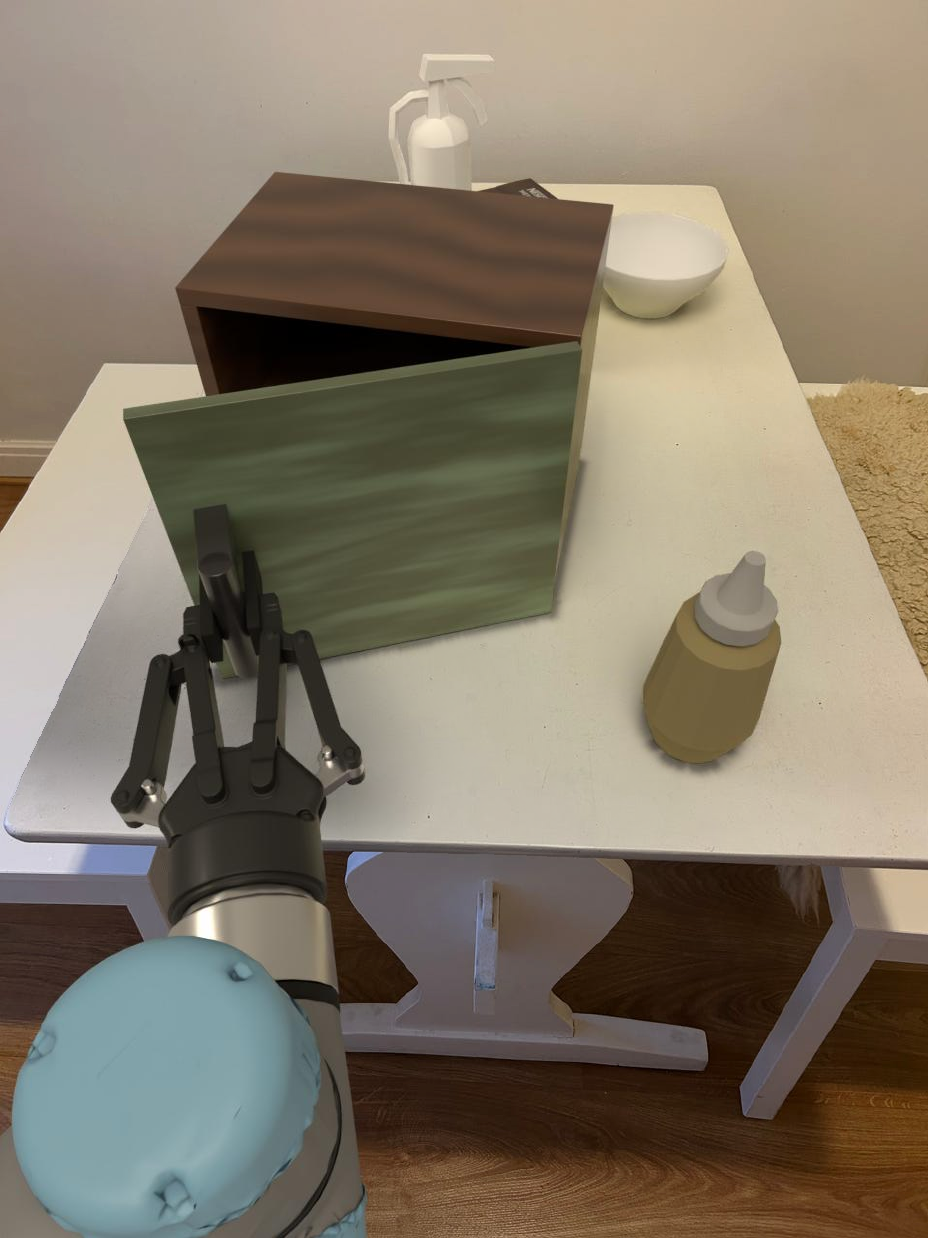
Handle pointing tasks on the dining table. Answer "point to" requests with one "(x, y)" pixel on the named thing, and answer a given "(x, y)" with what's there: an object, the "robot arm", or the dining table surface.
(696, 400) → the dining table surface
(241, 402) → the cupboard door
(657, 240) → the bowl
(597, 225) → the cupboard
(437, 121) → the fire extinguisher
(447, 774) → the dining table surface
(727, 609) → the squeeze bottle
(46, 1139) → the robot arm
